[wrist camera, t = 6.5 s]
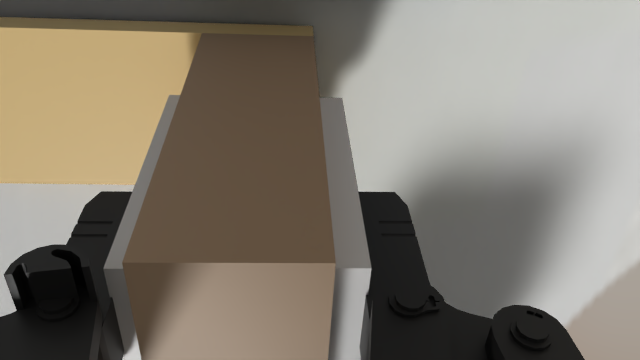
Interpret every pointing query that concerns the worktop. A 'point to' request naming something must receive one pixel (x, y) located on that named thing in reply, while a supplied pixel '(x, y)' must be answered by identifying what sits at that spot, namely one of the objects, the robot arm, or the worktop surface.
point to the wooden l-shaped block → (188, 171)
